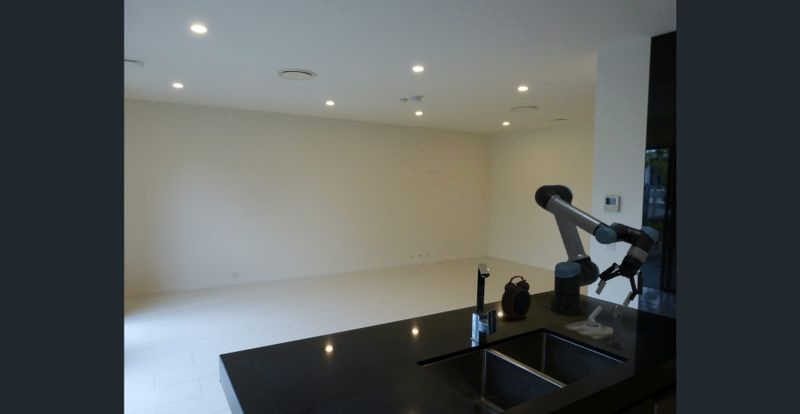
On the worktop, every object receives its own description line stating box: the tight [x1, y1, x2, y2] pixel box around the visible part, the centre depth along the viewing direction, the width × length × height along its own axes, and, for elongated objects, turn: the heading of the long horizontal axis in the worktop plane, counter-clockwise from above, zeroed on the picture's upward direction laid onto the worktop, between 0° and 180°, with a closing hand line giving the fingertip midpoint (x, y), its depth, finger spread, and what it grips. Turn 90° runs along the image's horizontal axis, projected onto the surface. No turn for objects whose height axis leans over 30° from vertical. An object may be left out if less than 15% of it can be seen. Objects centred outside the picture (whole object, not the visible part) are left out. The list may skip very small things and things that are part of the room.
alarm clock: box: [501, 275, 532, 322], centre depth 188 cm, size 14×7×20 cm, turn 123°
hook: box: [582, 305, 603, 332], centre depth 172 cm, size 8×12×7 cm
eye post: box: [605, 304, 628, 350], centre depth 157 cm, size 6×5×16 cm
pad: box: [562, 319, 623, 342], centre depth 173 cm, size 16×16×1 cm
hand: (610, 299), depth 178 cm, fingers open, 13 cm apart
